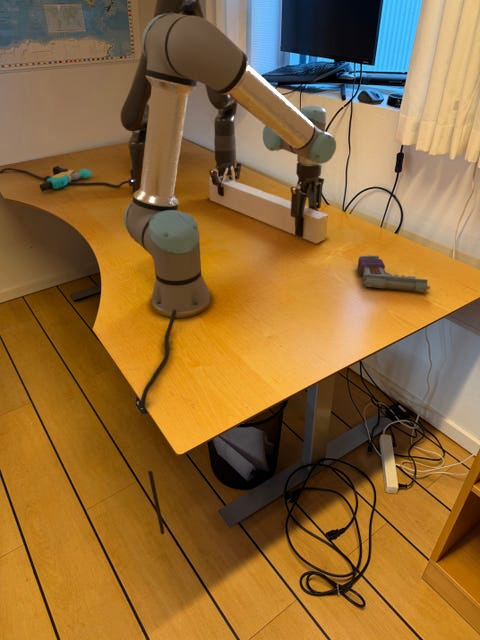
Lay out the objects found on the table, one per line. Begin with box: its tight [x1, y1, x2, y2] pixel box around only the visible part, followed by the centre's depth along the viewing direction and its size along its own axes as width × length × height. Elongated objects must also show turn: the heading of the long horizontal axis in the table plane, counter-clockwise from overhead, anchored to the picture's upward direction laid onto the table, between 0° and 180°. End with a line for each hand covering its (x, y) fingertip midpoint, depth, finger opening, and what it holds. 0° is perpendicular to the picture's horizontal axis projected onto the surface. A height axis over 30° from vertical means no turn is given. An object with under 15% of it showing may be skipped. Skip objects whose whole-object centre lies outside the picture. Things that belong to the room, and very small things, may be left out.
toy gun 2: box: [356, 254, 431, 293], centre depth 132 cm, size 4×19×15 cm
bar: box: [208, 176, 329, 245], centre depth 166 cm, size 52×5×8 cm, turn 44°
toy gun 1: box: [39, 165, 92, 193], centre depth 197 cm, size 4×26×15 cm
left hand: (226, 193), depth 177 cm, fingers closed on bar, 4 cm apart
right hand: (304, 232), depth 157 cm, fingers closed on bar, 5 cm apart
